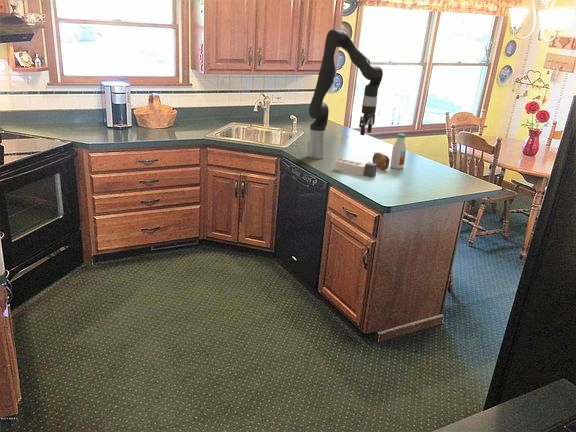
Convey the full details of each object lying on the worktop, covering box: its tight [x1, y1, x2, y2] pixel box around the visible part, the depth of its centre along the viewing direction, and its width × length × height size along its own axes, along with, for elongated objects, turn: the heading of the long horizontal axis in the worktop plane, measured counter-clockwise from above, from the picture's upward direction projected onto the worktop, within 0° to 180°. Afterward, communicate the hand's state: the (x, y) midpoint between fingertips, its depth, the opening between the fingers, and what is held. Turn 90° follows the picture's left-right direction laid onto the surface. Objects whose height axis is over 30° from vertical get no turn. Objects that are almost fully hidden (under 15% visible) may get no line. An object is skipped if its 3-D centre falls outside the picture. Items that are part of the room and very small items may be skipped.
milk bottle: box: [389, 133, 407, 170], centre depth 292 cm, size 8×8×20 cm
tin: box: [372, 152, 390, 171], centre depth 291 cm, size 15×3×8 cm, turn 21°
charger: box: [363, 162, 378, 178], centre depth 276 cm, size 8×4×6 cm, turn 55°
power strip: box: [334, 157, 366, 177], centre depth 282 cm, size 18×7×6 cm, turn 55°
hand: (365, 133), depth 276 cm, fingers open, 8 cm apart
